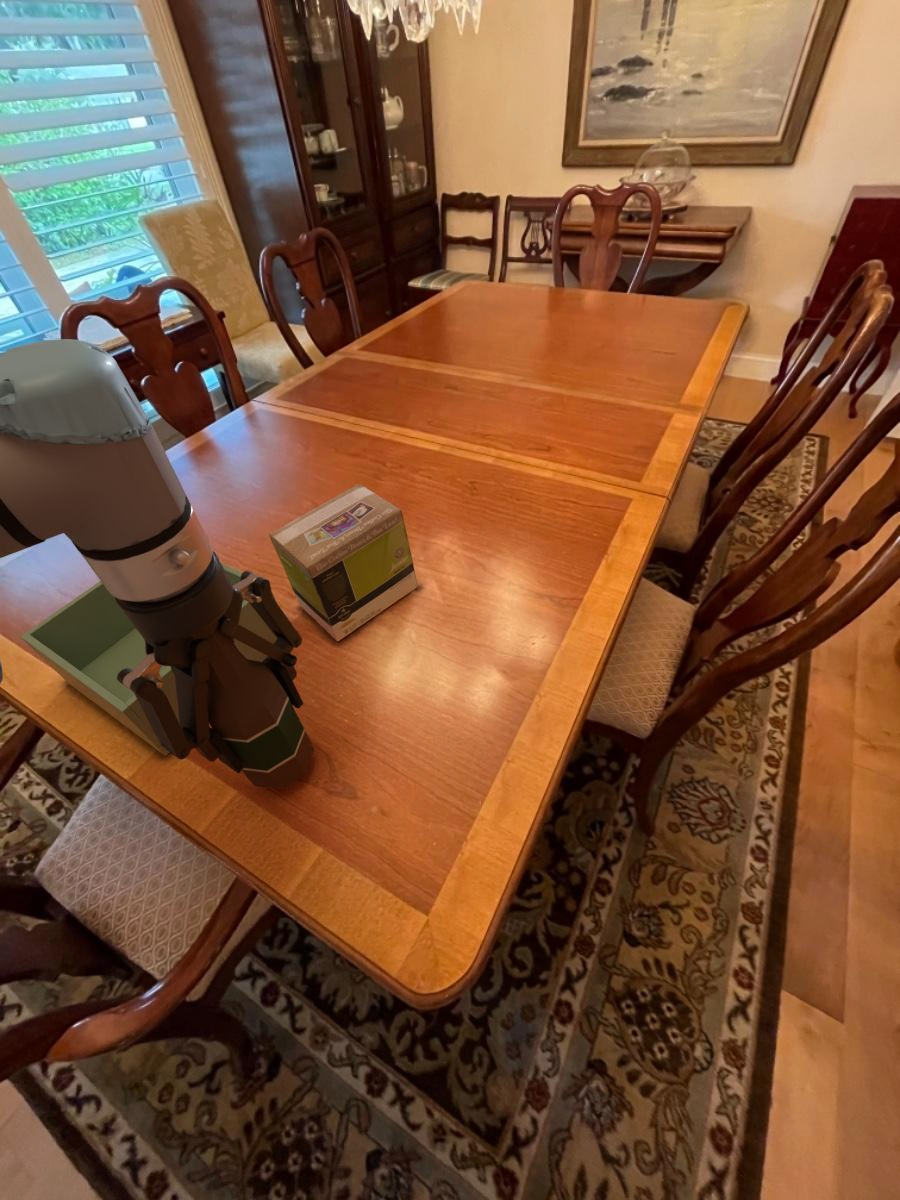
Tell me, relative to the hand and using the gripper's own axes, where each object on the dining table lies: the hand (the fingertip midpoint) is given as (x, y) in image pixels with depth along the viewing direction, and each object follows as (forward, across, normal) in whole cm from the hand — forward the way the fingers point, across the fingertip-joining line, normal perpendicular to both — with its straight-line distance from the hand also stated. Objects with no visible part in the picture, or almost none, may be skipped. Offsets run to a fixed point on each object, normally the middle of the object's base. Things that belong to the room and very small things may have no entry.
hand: (263, 731), depth 56 cm
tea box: (+8, +25, +10) cm, 28 cm away
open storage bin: (+9, +4, +25) cm, 27 cm away
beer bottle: (+6, 0, 0) cm, 6 cm away
